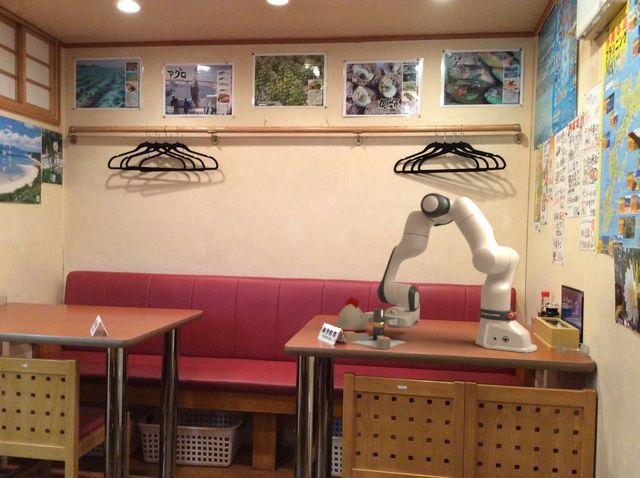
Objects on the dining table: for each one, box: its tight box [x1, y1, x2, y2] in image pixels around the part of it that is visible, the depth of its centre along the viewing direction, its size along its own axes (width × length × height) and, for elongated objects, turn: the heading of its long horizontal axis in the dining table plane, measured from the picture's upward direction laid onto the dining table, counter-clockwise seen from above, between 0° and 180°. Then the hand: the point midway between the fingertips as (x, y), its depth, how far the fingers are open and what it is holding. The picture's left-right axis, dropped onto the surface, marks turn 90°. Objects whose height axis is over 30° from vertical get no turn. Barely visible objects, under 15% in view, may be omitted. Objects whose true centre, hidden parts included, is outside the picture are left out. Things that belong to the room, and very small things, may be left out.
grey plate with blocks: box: [343, 331, 405, 350], centre depth 197 cm, size 24×17×4 cm
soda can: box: [413, 303, 421, 325], centre depth 246 cm, size 7×7×12 cm
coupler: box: [372, 307, 386, 340], centre depth 199 cm, size 5×5×12 cm
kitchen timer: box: [335, 296, 368, 333], centre depth 221 cm, size 14×14×15 cm
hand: (377, 321), depth 198 cm, fingers open, 8 cm apart
